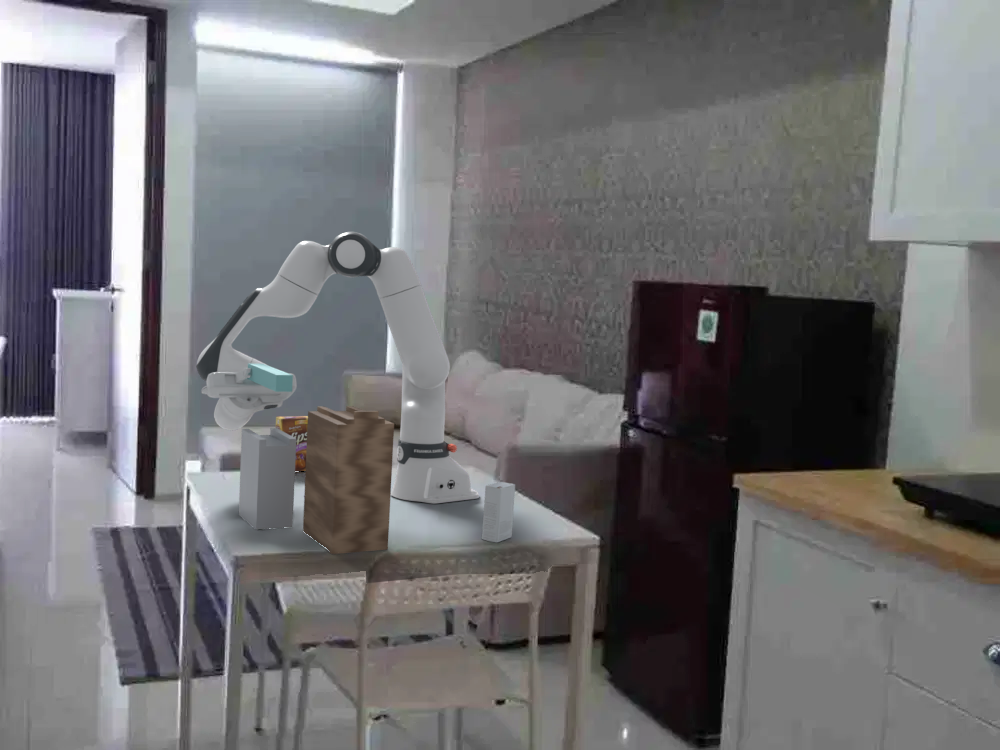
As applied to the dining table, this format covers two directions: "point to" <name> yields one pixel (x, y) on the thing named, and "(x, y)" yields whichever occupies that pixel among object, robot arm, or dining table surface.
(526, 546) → the dining table surface
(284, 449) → the rest block
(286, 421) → the candy box
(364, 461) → the notched wooden block
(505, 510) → the skincare box
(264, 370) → the rail
